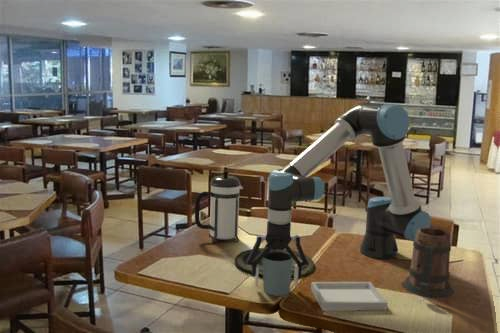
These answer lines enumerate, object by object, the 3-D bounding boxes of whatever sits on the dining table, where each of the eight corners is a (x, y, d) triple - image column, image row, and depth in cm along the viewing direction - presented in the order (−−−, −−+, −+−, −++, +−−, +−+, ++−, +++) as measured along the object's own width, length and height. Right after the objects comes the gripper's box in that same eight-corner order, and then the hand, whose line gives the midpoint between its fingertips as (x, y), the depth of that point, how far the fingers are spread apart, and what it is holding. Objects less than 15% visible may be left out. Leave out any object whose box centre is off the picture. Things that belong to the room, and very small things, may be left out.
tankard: (405, 274, 181) (410, 221, 178) (455, 284, 174) (461, 229, 171) (395, 299, 160) (400, 239, 157) (451, 310, 153) (458, 248, 150)
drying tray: (369, 288, 167) (370, 281, 167) (386, 310, 151) (387, 302, 151) (311, 289, 165) (311, 281, 165) (322, 311, 149) (323, 303, 149)
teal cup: (292, 297, 158) (294, 261, 156) (260, 296, 158) (261, 260, 156) (290, 285, 168) (291, 250, 166) (260, 283, 168) (261, 249, 166)
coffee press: (219, 231, 225) (221, 165, 220) (247, 238, 216) (250, 170, 211) (193, 240, 211) (194, 170, 206) (222, 248, 202) (224, 176, 197)
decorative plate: (226, 270, 175) (243, 243, 204) (225, 275, 175) (243, 248, 204) (311, 280, 169) (317, 251, 198) (311, 285, 170) (317, 256, 199)
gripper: (314, 218, 164) (310, 280, 168) (240, 217, 162) (237, 280, 165) (319, 224, 157) (315, 289, 160) (241, 224, 154) (239, 289, 158)
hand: (276, 284), depth 163 cm, fingers open, 12 cm apart
